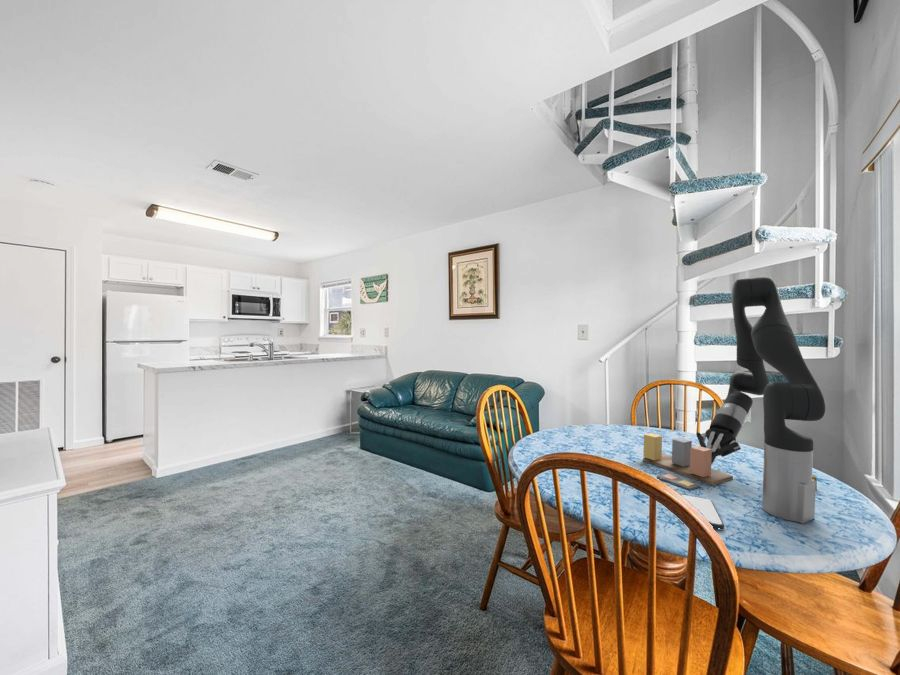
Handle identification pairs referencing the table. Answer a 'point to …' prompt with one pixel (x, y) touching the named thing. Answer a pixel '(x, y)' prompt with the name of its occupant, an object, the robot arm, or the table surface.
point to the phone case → (706, 510)
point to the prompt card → (678, 481)
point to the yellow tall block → (652, 446)
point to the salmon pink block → (700, 461)
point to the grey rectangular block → (681, 451)
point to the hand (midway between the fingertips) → (705, 462)
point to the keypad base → (667, 463)
